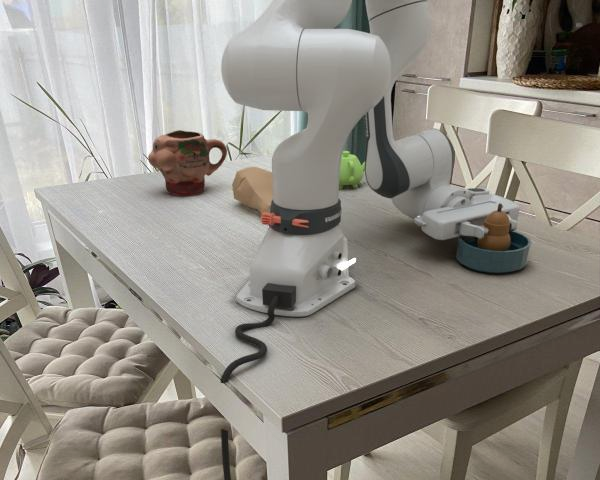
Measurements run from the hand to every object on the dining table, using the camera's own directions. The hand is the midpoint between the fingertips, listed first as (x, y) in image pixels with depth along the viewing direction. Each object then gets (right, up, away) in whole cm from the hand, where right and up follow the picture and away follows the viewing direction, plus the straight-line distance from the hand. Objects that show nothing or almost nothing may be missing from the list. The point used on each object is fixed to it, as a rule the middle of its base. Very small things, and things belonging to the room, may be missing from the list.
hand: (499, 230), depth 112 cm
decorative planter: (-65, +23, +47) cm, 83 cm away
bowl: (0, -5, +4) cm, 6 cm away
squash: (-46, +14, +32) cm, 58 cm away
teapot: (-25, +26, +50) cm, 61 cm away
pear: (0, -4, +4) cm, 6 cm away
